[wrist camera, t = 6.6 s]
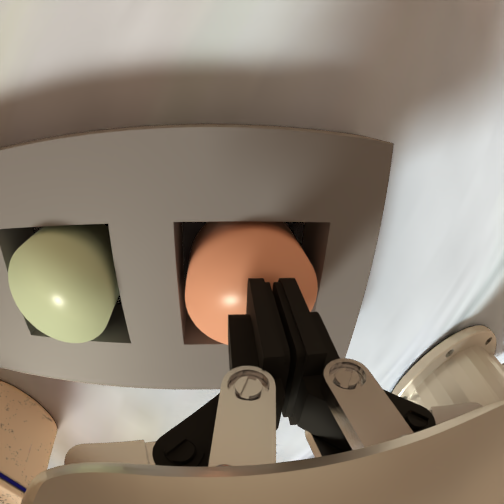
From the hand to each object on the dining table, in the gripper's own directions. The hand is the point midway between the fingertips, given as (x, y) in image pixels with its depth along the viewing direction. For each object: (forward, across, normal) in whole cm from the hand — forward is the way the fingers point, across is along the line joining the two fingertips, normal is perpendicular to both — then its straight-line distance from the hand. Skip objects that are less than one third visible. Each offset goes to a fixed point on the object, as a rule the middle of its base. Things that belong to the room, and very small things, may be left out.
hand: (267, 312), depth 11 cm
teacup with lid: (+4, +22, +17) cm, 28 cm away
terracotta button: (+3, +1, 0) cm, 3 cm away
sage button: (+3, +9, 0) cm, 9 cm away
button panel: (+4, +9, 0) cm, 9 cm away
